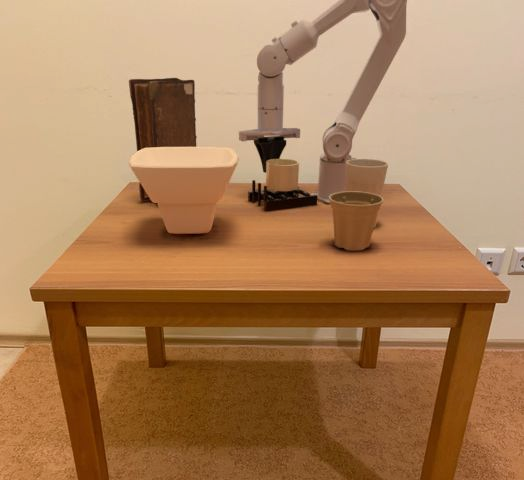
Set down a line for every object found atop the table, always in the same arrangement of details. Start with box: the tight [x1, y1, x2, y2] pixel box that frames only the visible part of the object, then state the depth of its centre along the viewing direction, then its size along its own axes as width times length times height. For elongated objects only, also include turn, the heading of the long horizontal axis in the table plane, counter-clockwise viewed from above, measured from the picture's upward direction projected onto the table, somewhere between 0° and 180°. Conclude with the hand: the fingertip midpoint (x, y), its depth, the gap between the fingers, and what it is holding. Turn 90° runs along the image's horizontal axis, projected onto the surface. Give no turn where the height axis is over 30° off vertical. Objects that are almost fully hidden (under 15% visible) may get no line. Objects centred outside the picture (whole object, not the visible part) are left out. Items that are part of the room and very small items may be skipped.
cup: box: [346, 158, 389, 228], centre depth 101 cm, size 8×8×12 cm
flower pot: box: [329, 191, 385, 252], centre depth 91 cm, size 9×9×9 cm
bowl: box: [128, 146, 239, 235], centre depth 96 cm, size 19×19×14 cm
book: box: [128, 77, 197, 203], centre depth 114 cm, size 17×7×25 cm, turn 144°
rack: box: [247, 179, 318, 212], centre depth 116 cm, size 13×10×5 cm
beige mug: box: [265, 158, 300, 191], centre depth 116 cm, size 11×7×6 cm, turn 24°
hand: (269, 172), depth 120 cm, fingers closed on beige mug
